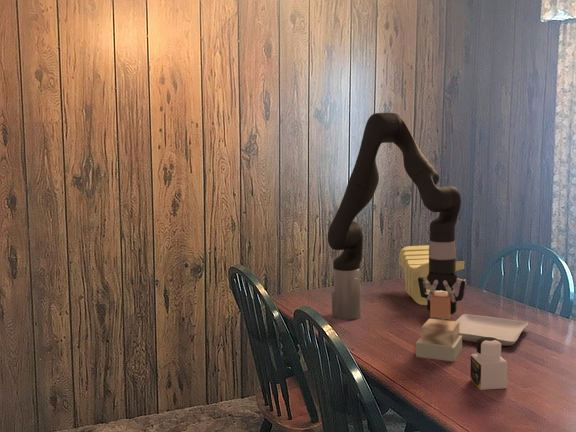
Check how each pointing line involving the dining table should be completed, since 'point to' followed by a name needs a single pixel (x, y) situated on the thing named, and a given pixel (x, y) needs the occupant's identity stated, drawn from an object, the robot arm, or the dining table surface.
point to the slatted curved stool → (417, 269)
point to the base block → (439, 350)
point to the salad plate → (490, 328)
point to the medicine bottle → (488, 365)
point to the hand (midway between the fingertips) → (441, 312)
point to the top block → (440, 332)
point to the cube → (440, 305)
